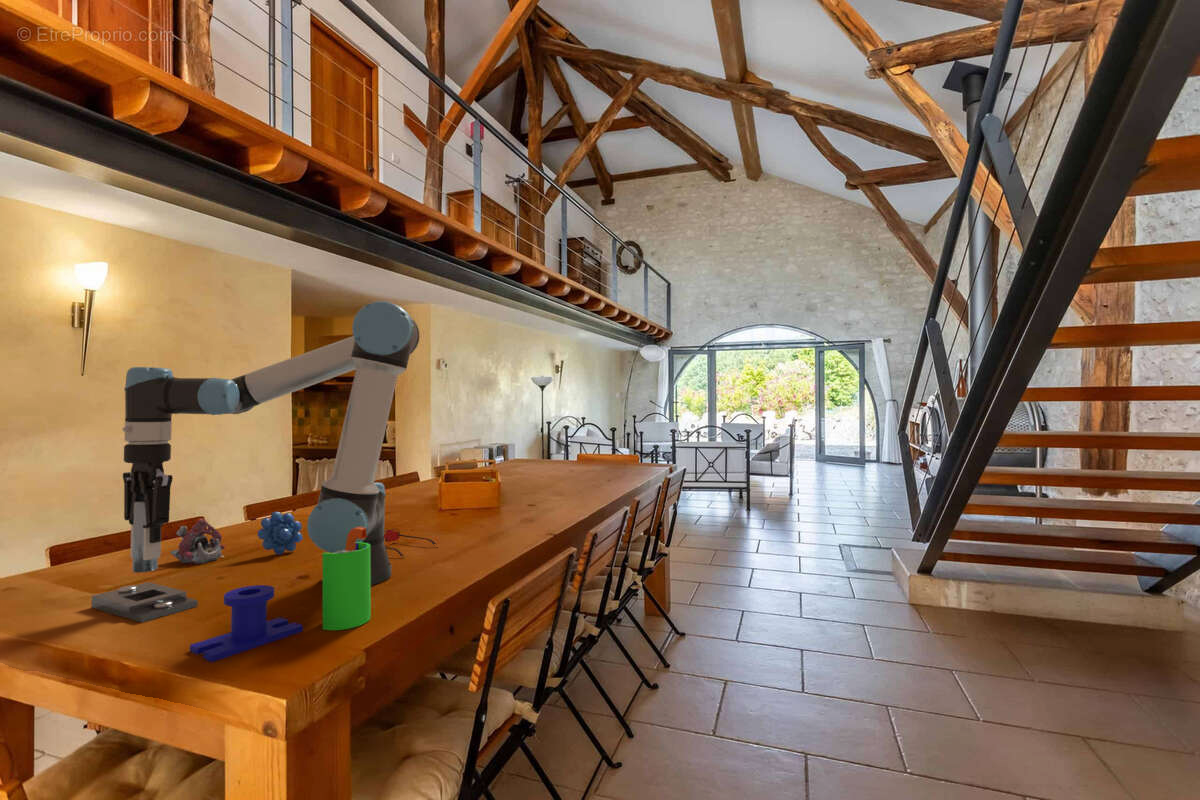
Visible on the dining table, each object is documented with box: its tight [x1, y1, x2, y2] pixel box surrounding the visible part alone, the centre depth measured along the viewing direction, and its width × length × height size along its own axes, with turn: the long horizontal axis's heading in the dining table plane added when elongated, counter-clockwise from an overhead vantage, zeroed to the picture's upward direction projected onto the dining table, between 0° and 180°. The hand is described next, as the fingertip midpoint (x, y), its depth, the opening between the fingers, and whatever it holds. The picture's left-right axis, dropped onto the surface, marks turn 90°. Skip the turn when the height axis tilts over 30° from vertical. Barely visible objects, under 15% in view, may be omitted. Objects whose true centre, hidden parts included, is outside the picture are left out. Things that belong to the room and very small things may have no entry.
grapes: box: [256, 511, 304, 555], centre depth 156 cm, size 12×7×12 cm, turn 141°
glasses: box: [384, 528, 436, 557], centre depth 162 cm, size 14×16×5 cm
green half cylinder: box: [321, 527, 372, 631], centre depth 108 cm, size 9×8×18 cm
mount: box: [189, 584, 304, 663], centre depth 99 cm, size 15×8×9 cm, turn 148°
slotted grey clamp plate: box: [91, 581, 199, 623], centre depth 115 cm, size 18×10×3 cm, turn 65°
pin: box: [132, 500, 159, 574], centre depth 115 cm, size 4×4×14 cm
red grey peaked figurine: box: [169, 518, 226, 565], centre depth 150 cm, size 11×11×12 cm
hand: (145, 556), depth 115 cm, fingers closed on pin, 4 cm apart
